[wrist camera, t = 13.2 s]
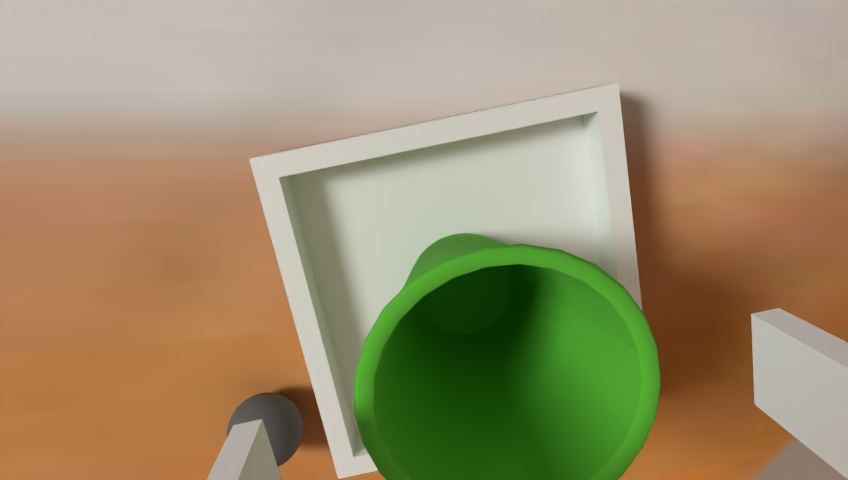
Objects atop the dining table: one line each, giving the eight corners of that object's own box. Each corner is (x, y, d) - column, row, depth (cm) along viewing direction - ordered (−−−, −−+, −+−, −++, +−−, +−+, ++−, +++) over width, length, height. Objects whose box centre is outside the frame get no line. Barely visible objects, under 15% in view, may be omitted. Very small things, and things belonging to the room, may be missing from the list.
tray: (263, 154, 24) (249, 159, 22) (595, 86, 24) (618, 82, 22) (343, 447, 28) (338, 478, 25) (630, 386, 28) (653, 411, 26)
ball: (230, 387, 27) (206, 427, 23) (298, 373, 27) (284, 411, 23) (249, 447, 28) (229, 494, 24) (315, 432, 28) (304, 478, 24)
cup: (344, 228, 25) (304, 309, 14) (524, 167, 24) (625, 201, 14) (404, 389, 27) (411, 568, 16) (571, 334, 26) (692, 477, 16)
